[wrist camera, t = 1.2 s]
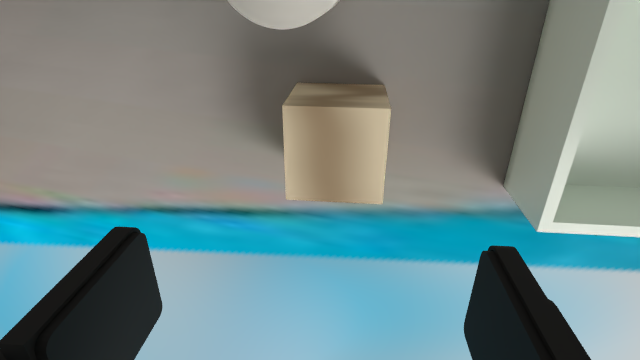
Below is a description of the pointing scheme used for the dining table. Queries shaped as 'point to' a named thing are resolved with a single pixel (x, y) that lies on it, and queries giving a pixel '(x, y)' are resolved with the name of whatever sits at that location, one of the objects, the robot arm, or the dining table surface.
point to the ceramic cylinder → (282, 11)
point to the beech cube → (336, 142)
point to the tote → (582, 122)
